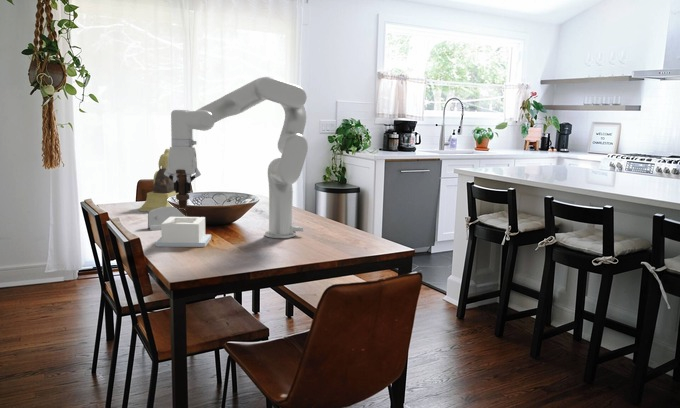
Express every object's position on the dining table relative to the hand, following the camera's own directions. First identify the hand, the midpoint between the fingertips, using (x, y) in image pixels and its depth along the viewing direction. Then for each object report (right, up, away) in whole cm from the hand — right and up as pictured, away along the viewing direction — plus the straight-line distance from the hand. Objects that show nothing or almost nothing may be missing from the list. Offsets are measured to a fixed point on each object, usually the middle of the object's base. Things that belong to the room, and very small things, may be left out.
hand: (182, 192), depth 203 cm
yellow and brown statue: (-31, -6, +75) cm, 81 cm away
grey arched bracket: (-15, -15, +29) cm, 35 cm away
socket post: (0, -19, +3) cm, 19 cm away
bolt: (0, -6, +1) cm, 6 cm away
